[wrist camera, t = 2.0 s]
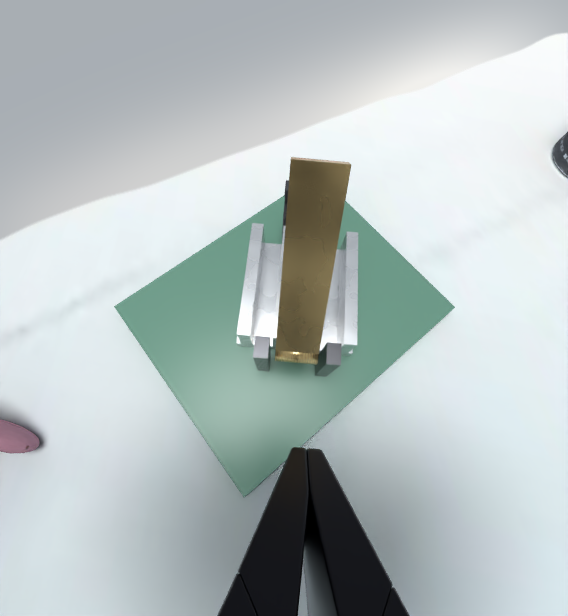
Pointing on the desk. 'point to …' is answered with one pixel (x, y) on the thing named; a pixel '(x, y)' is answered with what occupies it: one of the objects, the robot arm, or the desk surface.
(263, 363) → the heatsink mount
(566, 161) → the pill bottle
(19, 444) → the pink curved lobed piece
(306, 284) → the bar
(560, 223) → the desk surface
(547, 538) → the desk surface
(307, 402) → the motherboard
